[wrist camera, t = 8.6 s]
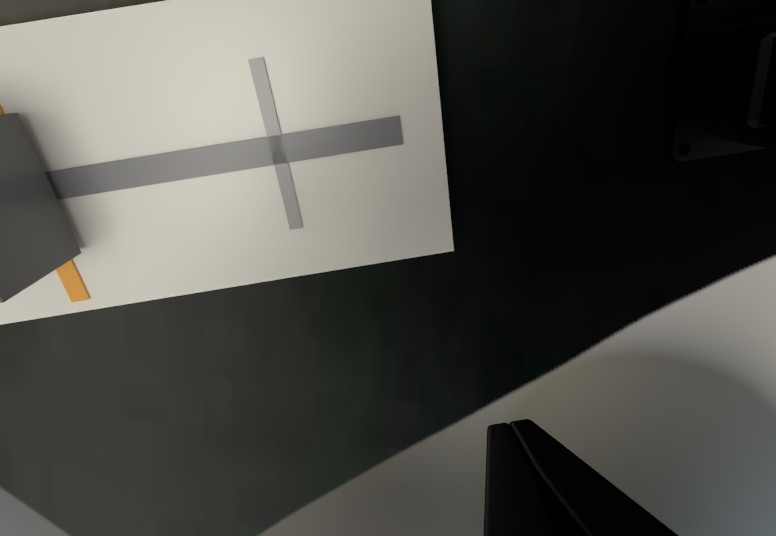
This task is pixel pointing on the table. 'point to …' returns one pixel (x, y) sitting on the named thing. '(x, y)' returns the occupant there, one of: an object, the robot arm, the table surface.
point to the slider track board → (229, 143)
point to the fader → (28, 214)
